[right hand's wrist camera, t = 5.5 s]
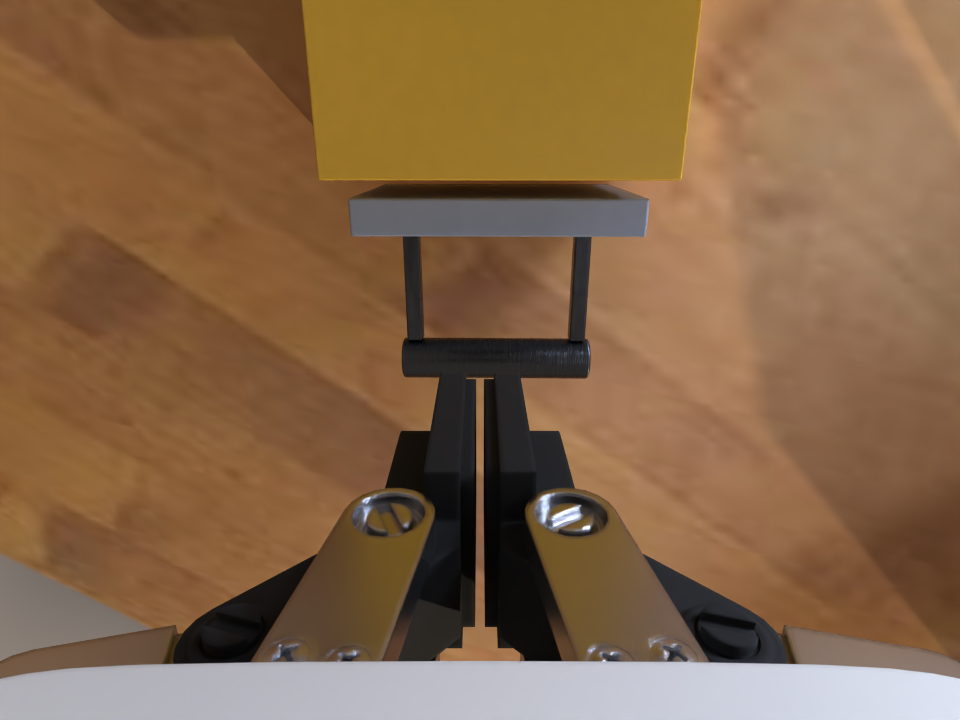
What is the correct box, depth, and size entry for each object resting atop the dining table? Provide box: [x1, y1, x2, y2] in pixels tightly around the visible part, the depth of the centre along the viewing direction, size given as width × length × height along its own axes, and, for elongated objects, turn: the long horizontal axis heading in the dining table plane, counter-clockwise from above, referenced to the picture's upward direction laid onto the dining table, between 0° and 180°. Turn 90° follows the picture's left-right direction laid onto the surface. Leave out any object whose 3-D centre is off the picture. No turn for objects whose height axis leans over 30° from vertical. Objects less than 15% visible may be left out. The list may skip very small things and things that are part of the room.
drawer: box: [348, 184, 649, 378], centre depth 20 cm, size 24×10×7 cm, turn 0°
